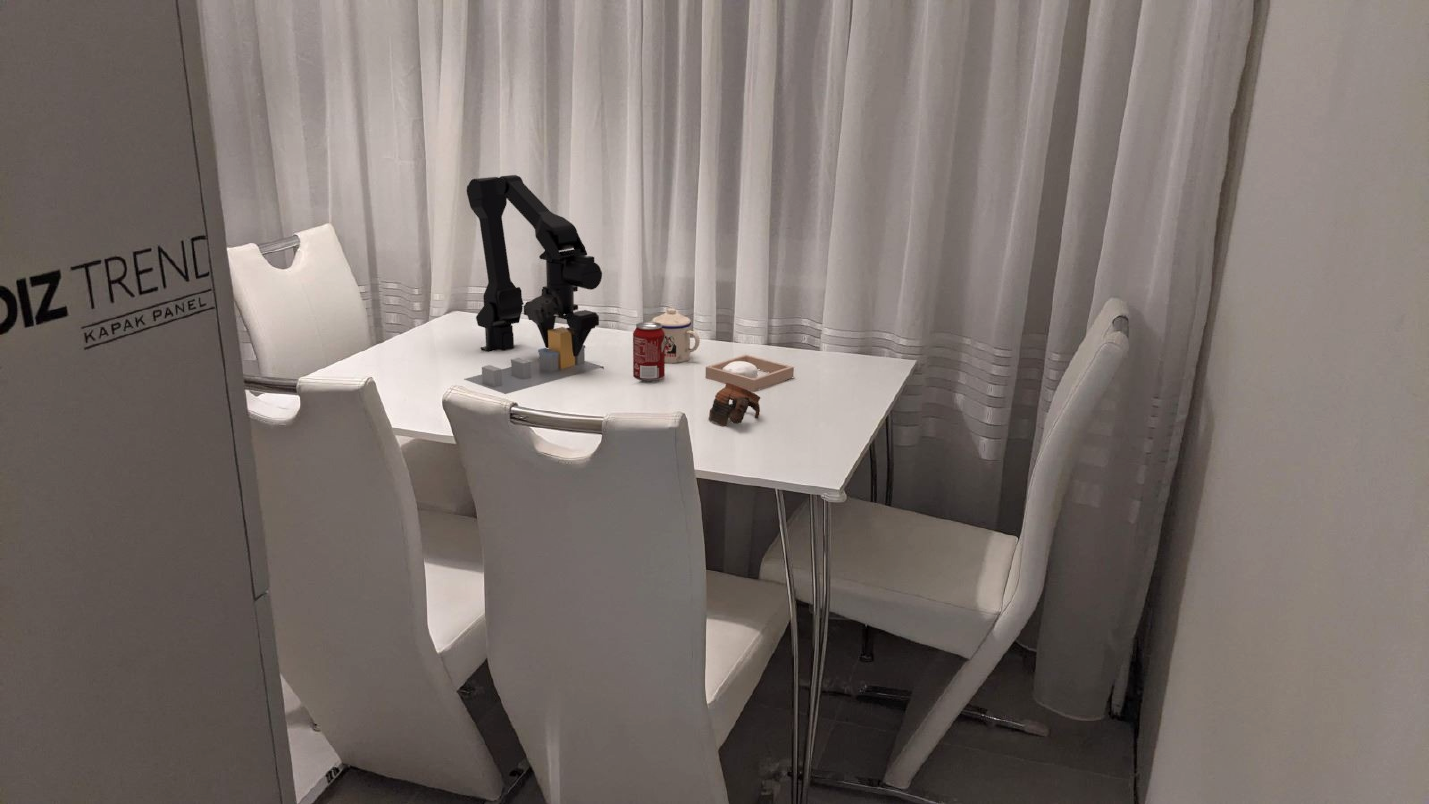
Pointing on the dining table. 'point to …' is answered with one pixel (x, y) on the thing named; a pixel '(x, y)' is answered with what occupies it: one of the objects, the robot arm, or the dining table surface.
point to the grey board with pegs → (530, 372)
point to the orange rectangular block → (562, 346)
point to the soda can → (648, 352)
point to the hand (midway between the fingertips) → (561, 351)
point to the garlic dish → (775, 376)
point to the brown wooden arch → (733, 404)
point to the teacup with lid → (677, 336)
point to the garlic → (742, 369)
